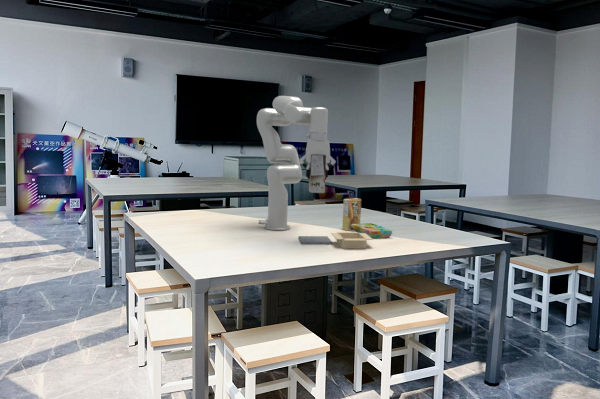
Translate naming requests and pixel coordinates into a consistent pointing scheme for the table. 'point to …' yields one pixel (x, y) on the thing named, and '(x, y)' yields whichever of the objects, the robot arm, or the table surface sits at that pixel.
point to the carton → (351, 239)
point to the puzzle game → (372, 230)
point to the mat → (315, 240)
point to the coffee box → (317, 174)
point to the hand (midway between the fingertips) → (316, 178)
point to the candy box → (351, 213)
